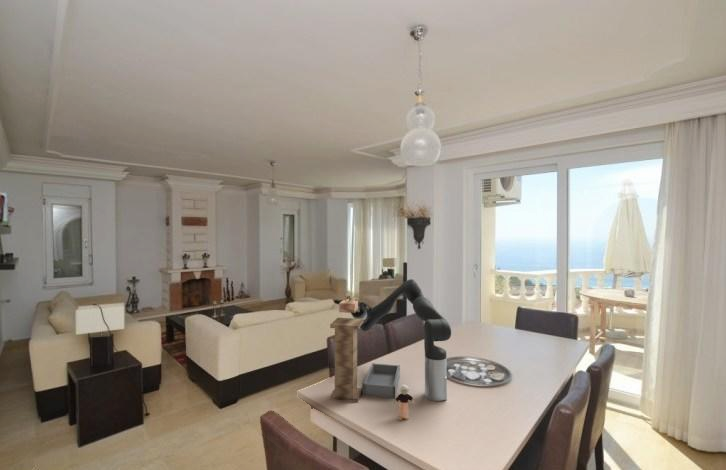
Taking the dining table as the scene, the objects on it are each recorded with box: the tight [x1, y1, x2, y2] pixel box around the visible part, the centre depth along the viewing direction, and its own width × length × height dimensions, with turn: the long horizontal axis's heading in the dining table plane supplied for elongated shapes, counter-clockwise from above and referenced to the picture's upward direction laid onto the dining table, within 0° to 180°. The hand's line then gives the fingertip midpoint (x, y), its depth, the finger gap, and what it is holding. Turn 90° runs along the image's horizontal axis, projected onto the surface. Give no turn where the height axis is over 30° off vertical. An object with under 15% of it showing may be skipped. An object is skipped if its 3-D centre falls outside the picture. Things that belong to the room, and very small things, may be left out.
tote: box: [362, 362, 401, 399], centre depth 157 cm, size 14×24×5 cm, turn 169°
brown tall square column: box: [329, 317, 363, 403], centre depth 147 cm, size 12×12×32 cm
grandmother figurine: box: [393, 384, 415, 421], centre depth 129 cm, size 8×4×13 cm, turn 105°
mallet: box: [338, 299, 359, 314], centre depth 156 cm, size 7×16×4 cm, turn 169°
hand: (352, 301), depth 158 cm, fingers closed on mallet, 2 cm apart
